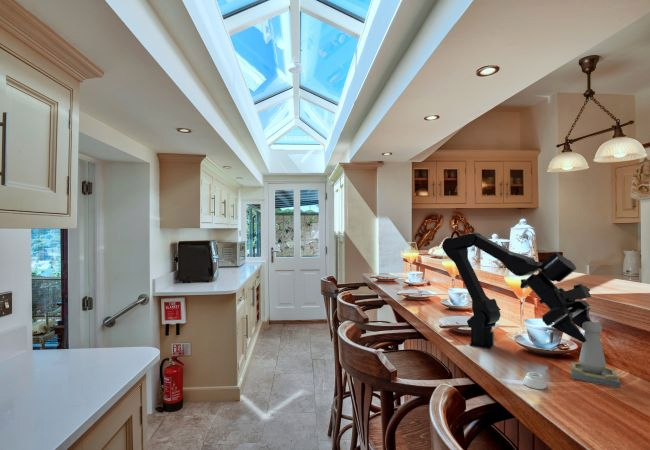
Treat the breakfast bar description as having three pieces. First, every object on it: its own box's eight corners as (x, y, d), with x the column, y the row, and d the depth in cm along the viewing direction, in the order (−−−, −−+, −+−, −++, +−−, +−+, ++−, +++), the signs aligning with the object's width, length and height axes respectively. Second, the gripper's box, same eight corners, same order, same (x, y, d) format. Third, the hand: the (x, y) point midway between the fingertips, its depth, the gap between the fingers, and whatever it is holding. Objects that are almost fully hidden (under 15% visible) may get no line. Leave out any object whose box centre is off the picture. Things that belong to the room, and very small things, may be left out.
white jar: (537, 381, 93) (518, 382, 93) (537, 370, 93) (518, 370, 93) (550, 390, 88) (531, 390, 88) (550, 378, 88) (531, 378, 88)
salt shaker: (611, 374, 94) (611, 325, 94) (592, 375, 93) (592, 325, 93) (592, 366, 100) (592, 319, 100) (573, 367, 99) (573, 320, 99)
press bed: (571, 378, 95) (571, 370, 95) (570, 366, 103) (570, 359, 103) (620, 388, 89) (620, 379, 89) (615, 375, 98) (615, 367, 98)
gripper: (555, 276, 96) (605, 327, 87) (581, 272, 107) (628, 317, 98) (524, 301, 102) (568, 351, 93) (552, 294, 113) (594, 338, 104)
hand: (591, 338), depth 97 cm, fingers open, 9 cm apart
